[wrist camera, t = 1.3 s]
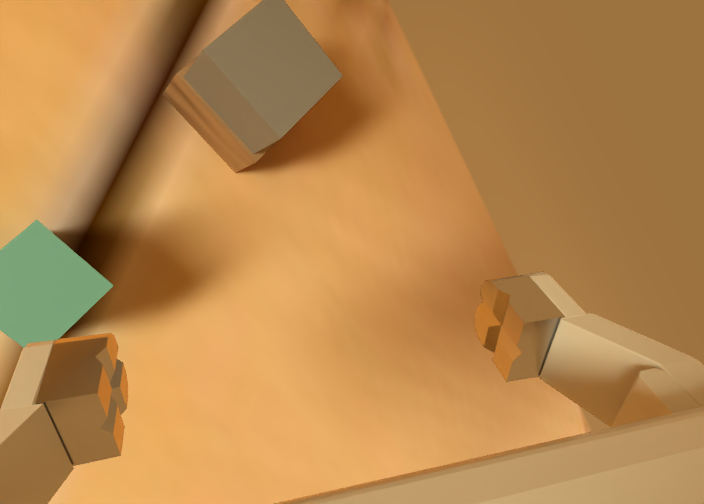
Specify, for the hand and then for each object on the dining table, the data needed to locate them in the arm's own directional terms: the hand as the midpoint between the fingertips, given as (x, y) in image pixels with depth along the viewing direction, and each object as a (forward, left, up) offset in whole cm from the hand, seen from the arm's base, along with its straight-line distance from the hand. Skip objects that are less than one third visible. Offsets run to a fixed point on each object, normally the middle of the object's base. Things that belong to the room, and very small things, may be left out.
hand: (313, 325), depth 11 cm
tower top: (+10, +14, -26) cm, 31 cm away
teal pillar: (-5, +1, -30) cm, 31 cm away
